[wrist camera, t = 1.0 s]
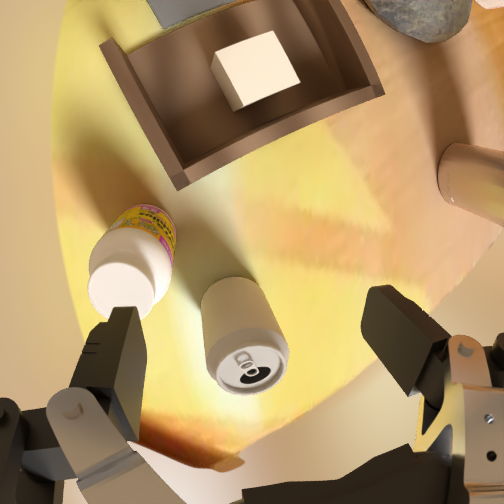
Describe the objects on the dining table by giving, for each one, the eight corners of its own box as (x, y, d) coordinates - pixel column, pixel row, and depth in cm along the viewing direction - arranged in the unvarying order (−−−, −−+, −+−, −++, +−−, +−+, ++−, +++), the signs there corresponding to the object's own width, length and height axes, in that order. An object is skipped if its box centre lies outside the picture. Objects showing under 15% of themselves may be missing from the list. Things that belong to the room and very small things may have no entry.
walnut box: (294, -8, 22) (318, -34, 16) (349, 99, 28) (385, 94, 22) (117, 63, 23) (98, 45, 16) (180, 179, 28) (177, 191, 22)
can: (218, 336, 36) (232, 411, 25) (188, 291, 33) (190, 363, 22) (273, 311, 36) (305, 379, 25) (248, 261, 33) (277, 325, 22)
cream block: (257, 49, 24) (272, 30, 19) (279, 91, 26) (300, 82, 21) (210, 68, 24) (214, 52, 19) (233, 112, 26) (244, 106, 21)
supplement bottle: (189, 238, 31) (190, 303, 19) (143, 274, 31) (123, 350, 20) (149, 188, 28) (121, 226, 16) (103, 228, 29) (56, 286, 17)
